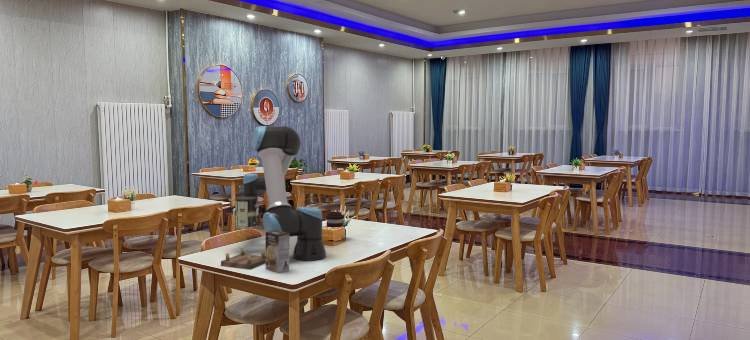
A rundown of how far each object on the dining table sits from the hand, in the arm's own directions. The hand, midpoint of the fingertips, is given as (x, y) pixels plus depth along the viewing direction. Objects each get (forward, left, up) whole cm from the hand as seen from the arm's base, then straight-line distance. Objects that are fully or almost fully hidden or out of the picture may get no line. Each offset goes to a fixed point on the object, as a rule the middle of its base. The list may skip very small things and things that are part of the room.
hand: (245, 212), depth 249 cm
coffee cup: (-25, -46, -20) cm, 56 cm away
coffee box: (-28, +17, -20) cm, 38 cm away
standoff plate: (-10, +14, -20) cm, 26 cm away
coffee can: (+2, -4, -8) cm, 9 cm away
